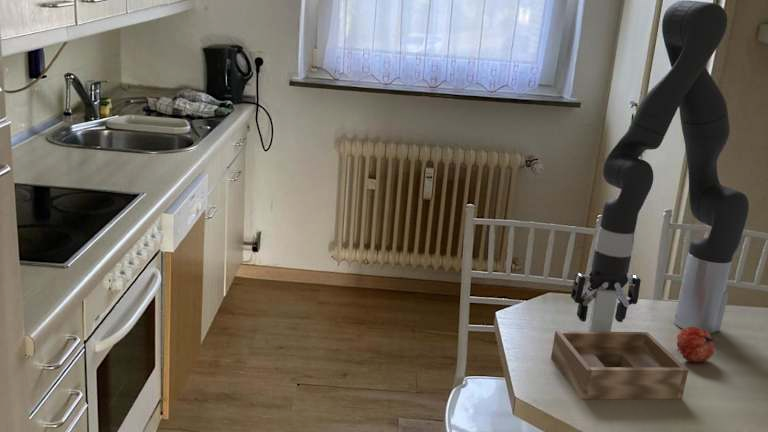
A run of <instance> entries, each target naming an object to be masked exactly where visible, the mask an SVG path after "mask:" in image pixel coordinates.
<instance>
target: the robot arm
mask: <svg viewBox="0 0 768 432" xmlns="http://www.w3.org/2000/svg"><path fill="white" fill-rule="evenodd" d="M661 22H662V23H661V33H662V38H663V42H664V46H665V48H666V49H665V50H666V52H667V54H666V55H667V56H668V60H669V64H670V67H671V68H670V69H669V71H668V72H667V73H666V74H665V75H664V76H663V77H662V78H661V79H660V80H659V81H658V82H657V83H655V85H654V86H653V87H652V88H651V89H650V90H649V91H648V92H647V94H646V95H645V96H644V97H643V99H642V100H641V102H640V103H639V105H638V107H637V109H636V111H635V114H634V116H633V119H632V120H631V122H630V124H629V128H628V130H627V131H626V132H625V133H624V135H623V136H622V137H621V138H620V139H619V141H618V142H617V143H616V144H615V146H614V147H613V148H612V150H611V151H610V152H609V153H608V155H607V157H606V159H605V161H604V164H603V168H602V174H603V175H602V176H603V178H604V180H605V182H606V183H608V184H609V185H610V186H613V187H615V188H617V189H619V190H620V192H619V195H618V197H617V198H611V199H608V200H606V202H605V203H604V206H603V208H602V209H603V210H602V214H601V218H600V219H601V220H600V223H599V224H600V226H599V230H598V233H597V235H596V241H595V245H594V251H593V256H592V262H591V270H590V273H589V274H582V272H581V273H580V272H576V273H575V276H574V280H573V284H572V289H571V293H570V298H571V299H572V300H573V301H574V302H575V303H577V304H578V305H577V312H576V316H577V317H578V320H580V322H582V323H583V322H586V321H587V317H588V316H587V315H588V310H589V306H588V305H589V304H590V302H592V301H593V299H595V298H596V297H597V292H598V291H603V290H616V291H617V294H618V295H617V300H618V302H617V306H616V309H615V310H616V312H615V314H614V315H615V316H614V320H616V322H618V323H623V322H624V321H623V320H625V319H626V315H627V311H628V307H629V306H630V305H637V304H638V302H639V301H638V300H639V295H640V290H641V289H640V287H641V283H642V280H641V278H640V277H638V276H637V275H636V274H634V273H632V274H630V276H629V275H628V274H629V270H630V265H631V261H632V255H633V250H634V245H635V235H636V232H635V231H636V228H637V227H636V226H637V222H638V217H639V213H640V211H641V209H642V207H643V205H644V203H645V202H646V200H647V197H648V196H649V193H650V191H651V189H652V187H653V184H654V170H653V167H652V166H651V164H650V163H649V162H648V161H646V160H645V159H644V160H643V158H642V159H641V158H640V157H641V156H642V154H643V153H644V152H645V151H646V150H649V151H650V150H656V149H658V148H659V147H660V146H661V145H662V143H663V141H664V138H665V137H666V134H667V132H668V130H669V128H670V125H671V124H672V121H673V119H674V117H675V115H676V113H677V111H678V110H679V117H680V119H679V120H680V126H681V131H682V136H683V140H684V141H683V142H684V145H685V146H684V148H685V155H686V163H687V164H686V165H687V172H688V175H687V176H688V195H689V196H688V197H689V208H690V211H691V215H692V216H693V217H694V218H695V220H697V221H698V222H699V223H702V224H705V225H707V226H709V227H711V229H710V231H709V235H708V237H698V238H694V239H692V240H691V241H690V244H689V248H688V253H687V257H686V262H685V267H684V272H683V276H682V281H681V286H680V290H679V295H678V299H677V300H678V301H677V304H676V310H675V314H674V318H673V322H674V324H675V325H676V326H677V327H679V328H680V329H682V330H683V329H685V328H687V327H693V326H695V327H698V328H700V329H702V330H705V331H707V332H708V333H709V334H710V335H711V334H714V333H716V332H721V327H722V324H723V319H724V315H725V310H726V305H727V302H728V297H729V292H728V291H726V288H727V283H728V279H729V276H730V275H729V274H730V270H731V266H732V263H733V258H734V255H735V253H736V251H737V250H738V248H739V246H740V243H741V239H742V236H743V232H744V230H745V226H746V223H747V219H748V217H749V216H748V215H749V208H750V204H749V199H748V197H747V195H746V194H744V193H743V192H742V191H738V190H737V189H733V188H730V187H728V186H724V185H723V184H721V182H720V180H719V175H718V159H719V156H720V155H721V152H722V151H723V149H724V147H725V145H726V144H727V141H728V140H729V137H730V130H731V129H730V128H731V127H730V120H729V112H728V106H727V102H726V99H725V97H724V95H723V93H722V91H721V90H720V87H719V86H718V85H717V82H716V81H715V80H714V78H713V76H712V75H711V73H710V72H709V71H708V69H707V66H706V65H707V64H708V62H709V60H710V59H711V58H712V56H713V54H714V53H715V52H716V49H717V48H718V47H719V45H720V43H721V41H722V40H723V38H724V35H725V33H726V31H727V28H728V27H727V26H728V15H727V12H726V10H725V9H724V8H723V7H722V6H721V5H720V4H717V3H713V2H709V1H707V2H706V1H698V0H697V1H696V0H676V1H674V2H672V3H671V4H669V6H668V7H667V8H666V10H665V12H664V14H663V17H662V20H661ZM587 282H589V284H588V285H587ZM586 285H587V286H586ZM625 285H628V288H627V295H626V294H625V292H624V290H623V288H624V287H625ZM584 286H586V288H584ZM583 290H584V291H583Z"/></svg>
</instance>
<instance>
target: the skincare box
mask: <svg viewBox="0 0 768 432" xmlns="http://www.w3.org/2000/svg"><path fill="white" fill-rule="evenodd" d="M617 295H618V294H617V291H616V290H603V291H598V292H597V297H596V298H595V299H592V303H591V308H590V314H589V320H588V325H587V330H586V331H595V332H612V325H613V321H614V317H615V316H614V315H615V310H616V307H617V306H616V304H617V300H618V298H617Z"/></svg>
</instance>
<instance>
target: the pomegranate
mask: <svg viewBox="0 0 768 432" xmlns="http://www.w3.org/2000/svg"><path fill="white" fill-rule="evenodd" d="M676 339H677V341H676V346H677V348H678V349H676V351H678V352H679V351H680V353H681V355H682V358H683V359H684V360H686V361H687V362H690V363H698V362H705V361H708V360H710V359H711V357H712V356H713V355H714V353H715V342H716V340H715V339H714V338H712V335H711V334H709V333H708V332H707V331H705V330H702V329H700V328H698V327H695V326H693V327H687V328H685V329H682V330H680V331H679V333H678V334H677V336H676Z"/></svg>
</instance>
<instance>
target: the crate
mask: <svg viewBox="0 0 768 432" xmlns="http://www.w3.org/2000/svg"><path fill="white" fill-rule="evenodd" d="M550 359H551V361H552V362H553V364H555V365H556V367H557V369H559V371H560V372H561V374H562V375H563V376H564V377H565V379H566V380H567V381H568V383H569V384H570V386H571V387H572V389H574V392H576V393H577V395H578V396H579V398H580V399H581V400H683V396H684V392H685V387H686V384H687V379H688V375H689V369H687V367H686V366H685V365H683V364H682V362H680V361H679V360H678V359H677V358H676V357H675V356H674V355H673V354H672V353H671V352H670V351H669V350H668V349H666V348H665V347H664V346H663V345H662V344H661V343H660V342H659V341H658V340H657V339H656V338H655V337H654V336H653V335H652V334H650V333H649V331H611V332H595V331H587V330H586V331H584V330H583V331H579V330H575V331H574V330H573V331H572V330H566V331H565V330H556V331H554V338H553V343H552V351H551V355H550Z"/></svg>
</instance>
